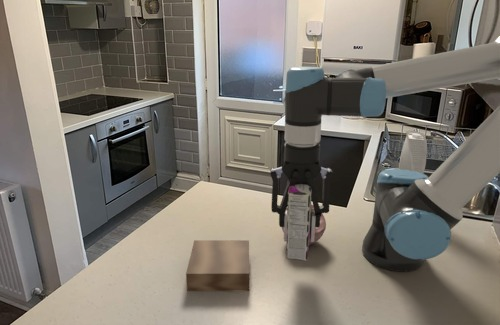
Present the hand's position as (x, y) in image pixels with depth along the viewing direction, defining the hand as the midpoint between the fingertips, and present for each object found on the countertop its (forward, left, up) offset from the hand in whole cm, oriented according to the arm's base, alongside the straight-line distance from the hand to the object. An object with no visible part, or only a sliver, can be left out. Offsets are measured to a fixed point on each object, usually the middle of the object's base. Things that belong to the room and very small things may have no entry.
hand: (298, 238), depth 88 cm
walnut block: (+18, 0, -10) cm, 21 cm away
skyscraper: (-38, -35, -11) cm, 52 cm away
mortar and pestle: (-3, -15, -10) cm, 18 cm away
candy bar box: (0, 0, -3) cm, 3 cm away
